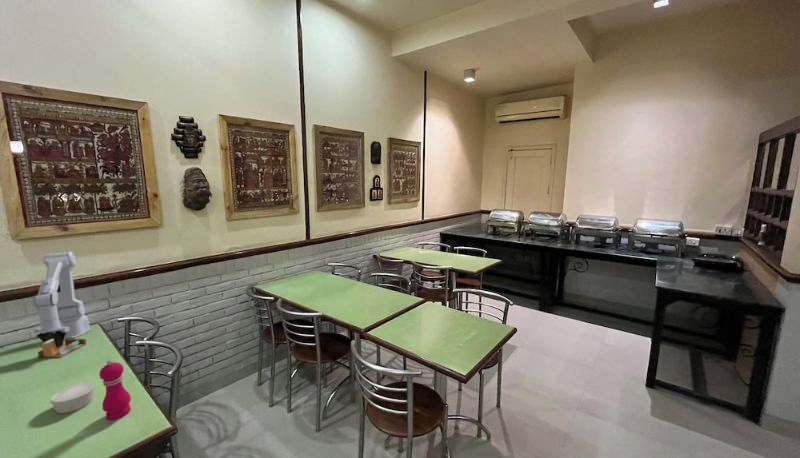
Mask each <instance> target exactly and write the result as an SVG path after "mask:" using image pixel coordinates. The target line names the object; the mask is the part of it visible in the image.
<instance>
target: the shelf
mask: <svg viewBox="0 0 800 458" xmlns="http://www.w3.org/2000/svg"><path fill="white" fill-rule="evenodd" d="M64 340H65V345H66V346H65V347H63V348H61V349H59V350H58V354H56V355H54V356H44V354H43V349H42V350H39V351H37V355H38V358H39V359H46V358H47V359H50V358H51V359H55V358H57V359H58V358H59V359H60V358H62V357H64V356H67V355H69V354H71V353H72V352H74V351H77V350H78V349H80V348H82V347H84V346H85V345H87V340H86V338H64Z"/></svg>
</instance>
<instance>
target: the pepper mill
mask: <svg viewBox="0 0 800 458" xmlns="http://www.w3.org/2000/svg"><path fill="white" fill-rule="evenodd" d="M123 373H124V366H123V364H122V363H120V362H114V359H109V360H107V361H106V365H104V366H103V367H101V369H100V371H99V377H100V379H101V380H102V385H103V386H105V396H104V398H103V401H102V410H103V411H104V412H105V417H106V420H108V421H115V420H116V421H117V420H119V419H122V418H123V416H124V417H125V416H126V415H128V414H129V413H130V411H132V410H131V404H130V402H131V400H132V397H131V395H130V393H129V391H128V390H126V389H125V387H124V386H123V385H124V384H123V380H124V376H123Z"/></svg>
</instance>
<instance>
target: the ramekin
mask: <svg viewBox="0 0 800 458" xmlns="http://www.w3.org/2000/svg"><path fill="white" fill-rule="evenodd" d="M95 386H96V385H95V383H94V382H90V381H86V382H78V383H75V384H71V385H70V386H67V387H64V388H62V389H60V390H59V391H57V392H56V393H54V394H53V395H52V396H51V397H50V398H49V399H50V400H49V401H50V403H51V404H52V407H53V408H54V411H56V413H59V414H69V413H72V412H76V411H78V410H81V409H83V408H85V407H86V406H87V405H89V404H90V403H91V402H92V401H93V399H94V397H95ZM88 403H89V404H88ZM85 405H86V406H85Z"/></svg>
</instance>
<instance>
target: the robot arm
mask: <svg viewBox="0 0 800 458" xmlns="http://www.w3.org/2000/svg"><path fill="white" fill-rule="evenodd" d="M43 263H44V266H45V268H46V276H45V279H44V280H42V281H41V284H40V286H39V290H38V293H37V294H36V295H35V296H34V297H33V299H32V300H33V301H32V303H33V307H34V308H35V310H36V312H37V313H38V316H39V322H40V326H38V327H35V328H33V333H34V334H36V333H38V334H36V337H37V338H38V339H40V341H42V343H44V342H46V341H49V340H51V339H54V341H55V344H56V347H60V346H62V345H63V341H64V339H76V338H78V337H80V336H82V335H83V334H86V333H88V332H89V331H91V330H92V328H90V327H91V326H90V321H89V317H88V316H87V315H86V314H85V312H86V309H85V305H84V302H83V301H82V300H81V299H76V296H75V294H76V293H75V285H74V279H73V278H74V276H73V268H75V267H76V266H77V265H76V264H77V261H76V255H75V253H74V252H73V251H65V252H56V253H55V252H54V253H45V254H44V256H43ZM58 279H59V280H58ZM59 287H60V289H59ZM58 289H59V290H60V298H61V301H60V302H59V297H58V296H59V293H58ZM58 302H59V303H58Z"/></svg>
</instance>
